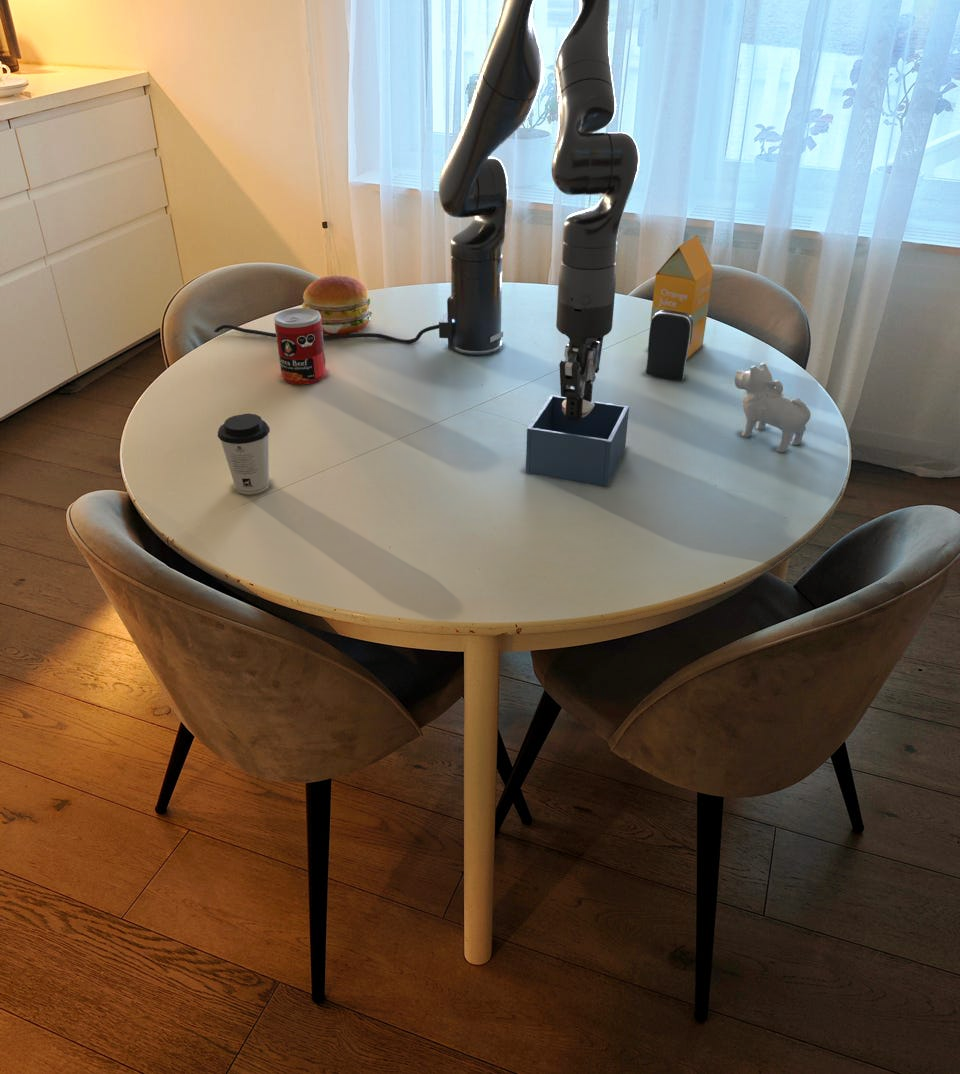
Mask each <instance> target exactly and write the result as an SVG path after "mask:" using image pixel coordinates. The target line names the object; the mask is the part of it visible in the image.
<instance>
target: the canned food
mask: <svg viewBox="0 0 960 1074" xmlns="http://www.w3.org/2000/svg"><path fill="white" fill-rule="evenodd" d="M273 319H274V320H273V321H274V330H275V333H276V337H275V339H276V345H277V353H278V357H279V358H278V359H279V367H280V374H281V377H282V379H283V381H285V382H286V383H288V384H291V385H297V386H298V385H301V386H302V385H309V384H310V385H311V384H315V383H318V382H320V381H322V380H323V379H324V378H325V376H326V374H327V364H326V353H325V343H324V342H325V341H324V339H323V335H324V334H323V331H322V322H321V316H320V313H319V312H318V311H316V310H313V309H307V308H303V307H297V308H290V309H286V310H283V311H280V312H278V313H277V314H275V315H274V318H273Z"/></svg>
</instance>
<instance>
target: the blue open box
mask: <svg viewBox="0 0 960 1074" xmlns="http://www.w3.org/2000/svg"><path fill="white" fill-rule="evenodd" d="M564 400H566V397H561V395H555V394H550V395H549V396H548V398H547V399H546V400H545V402H544V404H543V405H542V406H541V408H540V409H539V411H538V412H537V414H536V415H535V417H534V418H533V419H532V421H531V422H530V424H529V425H528V426H527V428H526V446H525V447H526V451H525V473H529V474H535V475H541V476H547V477H551V478H559V479H563V480H569V481H575V482H581V483H587V484H592V485H599V486H603V487H608V485H609V483H610V481H611V479H612V477H613V475H614V472H615V471H616V468H617V467H618V465H619V462H620V460H621V458H622V456H623V454H624V452H625V450H626V442H627V432H628V423H629V412H630V406H629V405H622V404H615V403H609V402H602V401H596V400H592V401H591V402H592V403H594V404H595V406H594V407H593V409H592V411H591V412H590V413H589V414H588V415H586V416H585V417H583V418H581V420H580V421H579V422H574V421H568V420H567V419H566V418H565V414H564V413H563V411H562V407H563V406H562V403H563V401H564Z"/></svg>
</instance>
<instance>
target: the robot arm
mask: <svg viewBox="0 0 960 1074" xmlns="http://www.w3.org/2000/svg"><path fill="white" fill-rule="evenodd" d="M578 1H579V13H578V15H577V17H576V19H575V21H574V23H573V24H572V26H571V28H570V29H569V31H568V32H567V34H566V35H565V37H564V39H563V40H562V42H561V44H560V46H559V49H558V51H557V55H556V59H555V65H554V79H555V80H554V81H555V88H556V98H557V105H558V129H557V136H556V140H555V141H556V142H555V146H554V150H553V154H552V160H551V161H552V162H551V177H552V181H553V183H554V185H555V187H556V188H557V189H558V190H559V191H560V192H561V193H562V194H564V195H566V196H598V195H602V197H600V199H599V201H598V202H597V203H596V204H595V205H594V206H592V207H590V208H587V209H584V210H581V211H577V212H574V213H572V214H570V215H568V216H567V217H566V218H565V220H564V222H563V227H562V240H561V241H562V242H561V259H560V260H561V261H560V268H559V273H558V284H557V285H558V286H557V303H556V304H557V305H556V321H555V322H556V323H555V324H556V325H555V326H556V329H557V331H558V332H559V333H560V334H562V335H565V336H566V337H567V338H568V340H569V341H568V344H566V345H565V348H564V353H563V354H564V355H563V356H564V359H565V360H564V359H561V360H560V362H559V364H558V366H559V381H560V382H559V385H560V396H561V397H566V414H565V418H566V419H567V420H568V421H574V422H579V421H580V420H581V418H582V407H583V399H584V400H587V401H589V402H591V401H593V387H594V382H595V381H596V374H598V372H599V371H600V364H601V355H602V349H603V344H604V343H603V342H604V337H605V336H607V335H609V333H611V331H612V329H613V323H614V322H613V321H614V310H615V299H616V298H615V297H616V285H617V273H616V261H617V250H618V249H617V248H618V240H619V238H618V237H619V230H620V226H621V222H622V219H623V216H624V213H625V209H626V206H627V202H628V200H629V197H630V195H631V192H632V190H633V187H634V184H635V182H636V178H637V175H638V172H639V166H640V152H639V147H638V145H637V143H636V141H635V139H634V138H633V137H632V136H631V135H630V134H628V133H626V132H621V131H619V132H618V131H617V132H616V131H614V132H613V131H612V132H599V131H601V130H603V129H605V128H607V126H608V125H610V124H611V122H612V121H613V119H614V118H615V116H616V115H615V114H616V110H617V108H616V107H617V103H616V102H617V101H616V97H615V95H616V94H615V88H614V81H613V74H612V67H611V61H610V60H611V58H610V51H609V49H610V47H609V25H610V1H611V0H578ZM534 3H535V0H503V4H502V8H501V11H500V14H499V16H498V20H497V23H496V25H495V29H494V32H493V34H492V37H491V40H490V44H489V45H488V48H487V51H486V54H485V56H484V59H483V62H482V65H481V68H480V70H479V74H478V77H477V80H476V82H475V87H474V90H473V94H472V97H471V100H470V102H469V105H468V109H467V111H466V114H465V117H464V120H463V122H462V126H461V127H460V130H459V132H458V135H457V137H456V139H455V141H454V144H453V145H452V147H451V149H450V152H449V154H448V156H447V158H446V160H445V162H444V165H443V167H442V170H441V174H440V177H439V184H438V199H439V203H440V207H441V208H442V210H443V212H444V213H445V214H446V215H448V216H449V217H452V218H456V219H465V218H473V217H474V219H473V220H472V222H471V223H470V224H469V225H468V226H467V227H466V228H464V229H463V230H461V231H460V232H458V233H456V234H455V235H454V236H453V237H451V240H450V245H449V246H450V247H449V249H450V251H449V252H450V295H449V297H448V298H447V300H446V313H443V314H442V316H441V318H440V320H439V322H438V324H435V325H431V326H428V327H425V328H422V329H421V330H420V331H419V332H418V333H416V334H417V335H416V336H415V337H414V338H410V339H402V338H397V337H394V336H390V335H387V334H383V333H376V332H355V333H351V334H341V335H326V334H323V340H338V339H352V338H377V339H378V338H379V339H383V340H387V341H391V342H397V343H404V344H413V343H416V342H418V341H419V340H420V339H421V337H422V335H423V334H425V333H428V332H430V331H435V330H438V338H439V339H447V349H451V350H453V351H454V352H457V353H460V354H464V355H469V356H484V355H489V354H493V353H496V352H497V351H499V350H501V348H502V338H503V337H504V331H502V307H503V306H502V301H503V300H502V299H503V297H502V295H503V290H502V289H503V248H504V247H503V246H504V243H505V239H506V231H507V214H508V200H509V185H508V184H509V183H508V175H507V172H506V169H505V167H504V165H503V163H502V161H501V160H500V159H498V158H497V157H494V156H491V155H492V154H493V153H494V152H495V151H496V150H497V149H498V148H500V147H501V146H502V145H503V144H504V143H505V142H506V141H507V140H509V139H510V138H511V137H512V136H513V135H514V134H515V133H517V131H518V130H519V129H520V128H521V127H522V125H523V124H524V123H525V122H526V120H527V119H528V118H529V116H530V114H531V112H532V110H533V108H534V105H535V102H536V100H537V98H538V95H539V93H540V90H541V88H542V86H543V82H544V77H545V66H544V60H543V56H542V51H541V48H540V47H541V46H540V44H539V40H538V37H537V33H536V29H535V24H534V17H533V7H534ZM224 329H230V330H233V331H237V332H241V333H246V334H252V335H260V336H266V337H269V338H270V337H272V338H276V332H275V333H274V332H269V331H263V330H257V329H250V328H245V327H240V326H236V325H232V324H227V323H226V324H221V325H219V326H218V327H216V328H215V329H214V330H213V333H218V332H220V331H221V330H224Z"/></svg>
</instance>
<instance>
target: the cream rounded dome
mask: <svg viewBox="0 0 960 1074" xmlns="http://www.w3.org/2000/svg"><path fill="white" fill-rule="evenodd" d="M562 406H563V407H562V411H563V413H564V414H566V400H564V401H563V403H562ZM594 406H595V404H594V403H592V402H589V401H587V400H584V399H583V407H582V418H583V417H585V416H586V415H588V414H589V413H590V412H591V411H592V409H593V407H594Z"/></svg>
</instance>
